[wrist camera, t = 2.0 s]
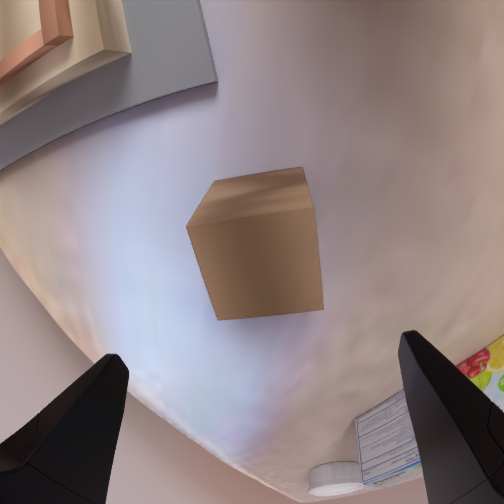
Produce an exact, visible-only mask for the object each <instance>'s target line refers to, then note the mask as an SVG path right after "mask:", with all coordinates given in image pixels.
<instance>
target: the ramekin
mask: <svg viewBox="0 0 504 504" xmlns="http://www.w3.org/2000/svg"><path fill="white" fill-rule="evenodd" d="M363 487H364V484H361V482H360V469H359V464H358V463H356V462H351V461H340V462H332V463H326V464H323V465H319V466H317V467H315V468H314V469H312V471H311V475H310V485H309V489H308V493H309V494H310V495H314V496H335V495H342V494H347V493H351V492H354V491H357V490H359V489H361V488H363Z"/></svg>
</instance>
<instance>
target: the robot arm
mask: <svg viewBox="0 0 504 504" xmlns="http://www.w3.org/2000/svg"><path fill="white" fill-rule="evenodd" d="M398 357H399V363H400V368H401V374H402V380H403V386H404V392H405V398H406V403H407V407H408V411H409V415H410V419H411V423H412V426H413V430H414V435H415V439H416V443H417V447H418V452H419V456H420V461H421V465H422V470H423V475H424V480H425V485H426V491H427V496H428V502H429V504H504V412H503V411H502V410H501V409H500V408H499V407H498V406H497V405H496V404H495V403H494V402H493V401H492V402H491V399H490V398H489V397H488V396H487V395H485V394H484V393H483V392H482V391H481V390H480V389H479V388H478V387H477V386H476V385H475V384H474V383H473V382H472V381H471V380H470V379H469V378H468V377H467V376H466V375H465V374H463V373H462V372H461V371H460V370H459V369H458V368H457V367H456V366H455V365H454V364H453V363H452V362H451V361H449V360H448V359H447V358H446V357H445V356H444V355H443V354H442V353H441V352H440V351H439V350H437V349H436V348H435V347H434V346H433V345H432V344H431V343H430V342H429V341H427V340H426V339H425V338H424V337H423V336H422V335H421V334H420V333H418V332H417V331H416V330H411V331H406V332H403V333H402V335H401V339H400V345H399V350H398ZM128 380H129V370H128V368H127V366H126V365H125V363H124V362H123V361H122V359H121V358H120V356H119V355H117V354H106V355H105V356H103V357H102V358H101V359H100V360H99V361H98V362H96V363H95V364H94V365H93V366H92V367H91V368H90V369H89V370H87V371H86V372H85V373H84V374H83V375H81V376H80V377H79V378H78V379H77V380H76V381H75V382H73V383H72V384H71V385H70V386H69V387H68V388H67V389H65V390H64V391H63V392H62V393H61V394H60V395H59V396H57V397H56V398H55V399H54V400H53V401H52V402H51V403H49V404H48V405H47V406H46V407H45V408H44V409H43V410H42V411H41V412H40V413H38V414H37V415H36V416H35V417H34V418H32V419H31V420H30V421H29V422H28V423H27V424H25V425H24V426H23V427H22V428H20V429H19V430H18V431H17V432H15V433H14V434H13V435H11V436H10V437H9V438H7V439H6V440H5V441H3V442H2V443H1V444H0V504H105V503H106V496H107V491H108V486H109V480H110V475H111V469H112V464H113V458H114V454H115V450H116V445H117V440H118V435H119V431H120V427H121V422H122V418H123V413H124V408H125V401H126V393H127V387H128Z"/></svg>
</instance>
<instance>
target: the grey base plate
mask: <svg viewBox="0 0 504 504" xmlns="http://www.w3.org/2000/svg"><path fill="white" fill-rule="evenodd" d="M122 5H123V11H124V16H125V21H126V26H127V31H128V36H129V41H130V46H131V50H132V53H130V54H128V55H126V56H123V57H121V58H119V59H116V60H114V61H112V62H110V63H107V64H105V65H103V66H101V67H99V68H97V69H95V70H93V71H91V72H89V73H87V74H85V75H83V76H81V77H79V78H77V79H75V80H73V81H71V82H69V83H68V84H66V85H64V86H62V87H61V88H59V89H57V90H55V91H54V92H52V93H50V94H49V95H47V96H45V97H44V98H42V99H40V100H39V101H37V102H36V103H34V104H33V105H31V106H30V107H28V108H27V109H25V110H24V111H22V112H21V113H19V114H18V115H16V116H15V117H13V118H12V119H11V120H9V121H8V122H6V123H5V124H4V125H2V126H1V127H0V170H2V169H3V168H5V167H7V166H8V165H10V164H12V163H13V162H15V161H17V160H19V159H20V158H22V157H24V156H26V155H27V154H29V153H31V152H33V151H35V150H36V149H38V148H40V147H42V146H44V145H46V144H48V143H50V142H52V141H54V140H56V139H58V138H60V137H62V136H64V135H66V134H68V133H70V132H72V131H75V130H77V129H79V128H81V127H83V126H86V125H88V124H90V123H93V122H95V121H97V120H100V119H102V118H105V117H107V116H110V115H112V114H115V113H117V112H120V111H122V110H125V109H128V108H130V107H133V106H136V105H139V104H142V103H145V102H148V101H151V100H154V99H157V98H160V97H163V96H166V95H169V94H173V93H176V92H179V91H183V90H187V89H190V88H194V87H198V86H201V85H205V84H209V83H213V82H218V79H217V74H216V70H215V66H214V61H213V57H212V52H211V48H210V44H209V39H208V35H207V31H206V26H205V22H204V18H203V14H202V9H201V5H200V1H199V0H122Z"/></svg>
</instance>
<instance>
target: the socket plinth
mask: <svg viewBox="0 0 504 504" xmlns="http://www.w3.org/2000/svg"><path fill="white" fill-rule="evenodd" d="M130 53H132V50H131V46H130V41H129V36H128V31H127V26H126V21H125V16H124V11H123V5H122V0H0V127H1V126H2V125H4V124H5V123H6V122H8V121H9V120H11V119H12V118H13V117H15V116H16V115H18V114H19V113H21V112H22V111H24V110H25V109H27V108H28V107H30V106H31V105H33V104H34V103H36V102H37V101H39V100H40V99H42V98H44V97H45V96H47V95H49V94H50V93H52V92H54V91H55V90H57V89H59V88H61V87H62V86H64V85H66V84H68V83H69V82H71V81H73V80H75V79H77V78H79V77H81V76H83V75H85V74H87V73H89V72H91V71H93V70H95V69H97V68H99V67H101V66H103V65H105V64H107V63H110V62H112V61H114V60H116V59H119V58H121V57H123V56H126V55H128V54H130Z"/></svg>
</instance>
